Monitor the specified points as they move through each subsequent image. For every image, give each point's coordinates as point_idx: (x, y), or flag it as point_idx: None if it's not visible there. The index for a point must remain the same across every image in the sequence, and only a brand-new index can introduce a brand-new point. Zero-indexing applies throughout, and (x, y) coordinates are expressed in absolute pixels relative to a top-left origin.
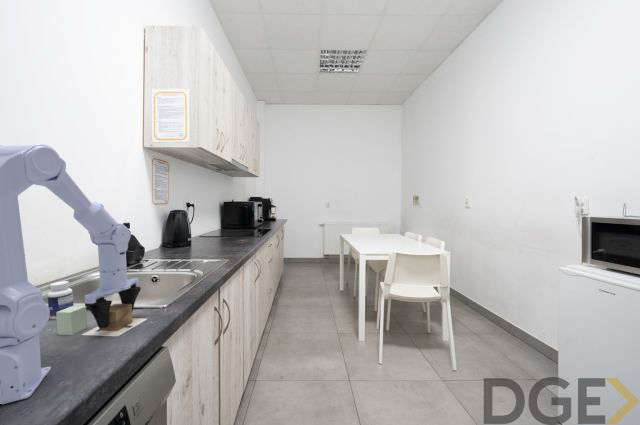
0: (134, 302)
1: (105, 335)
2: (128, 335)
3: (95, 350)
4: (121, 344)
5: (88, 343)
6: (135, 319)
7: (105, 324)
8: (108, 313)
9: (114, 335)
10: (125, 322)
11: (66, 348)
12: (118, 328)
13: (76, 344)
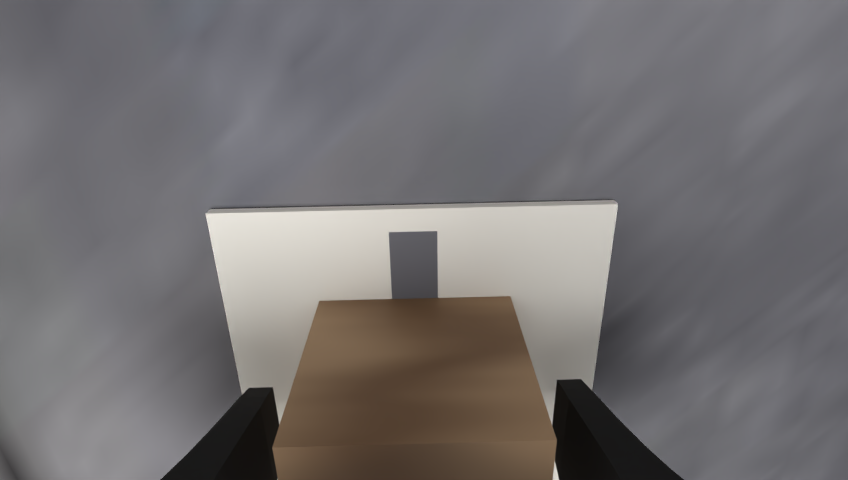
0: (175, 473)
1: (597, 324)
2: (571, 129)
3: (841, 200)
4: (765, 42)
5: (700, 353)
6: (256, 322)
7: (599, 401)
8: (627, 475)
9: (601, 247)
10: (406, 320)
11: (759, 431)
12: (495, 306)
13: (705, 418)
